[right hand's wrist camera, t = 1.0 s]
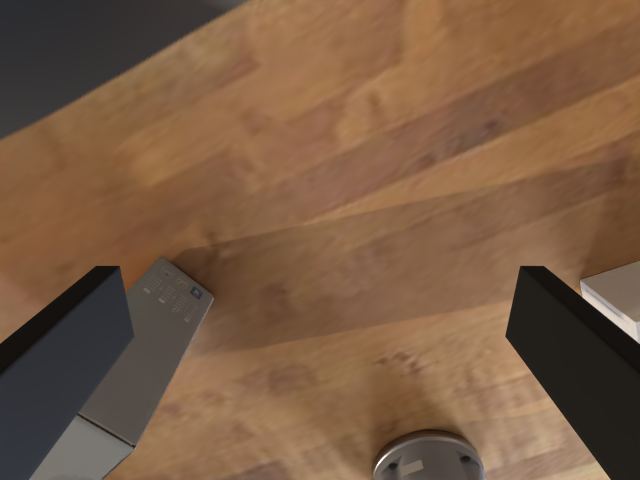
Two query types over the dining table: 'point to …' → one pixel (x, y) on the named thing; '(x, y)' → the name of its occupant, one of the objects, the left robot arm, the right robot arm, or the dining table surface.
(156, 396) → the hard drive box
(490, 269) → the dining table surface
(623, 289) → the cabinet
